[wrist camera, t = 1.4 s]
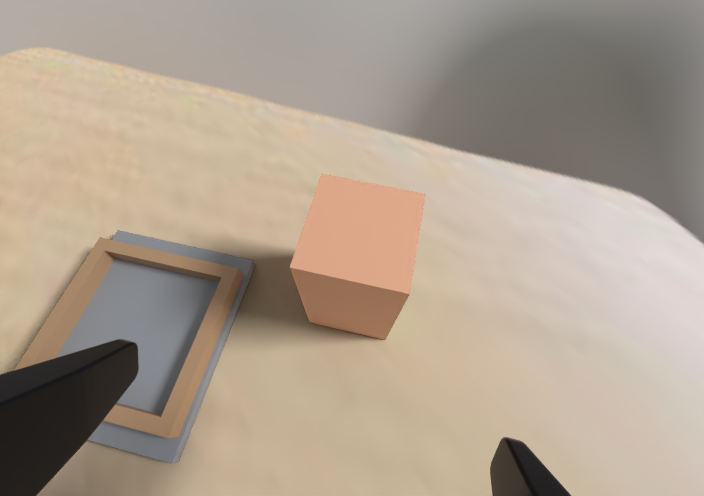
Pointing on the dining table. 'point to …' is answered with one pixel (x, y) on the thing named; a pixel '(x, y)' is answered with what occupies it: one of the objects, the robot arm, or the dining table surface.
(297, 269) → the pillar block
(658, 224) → the dining table surface
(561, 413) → the dining table surface
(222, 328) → the base board
